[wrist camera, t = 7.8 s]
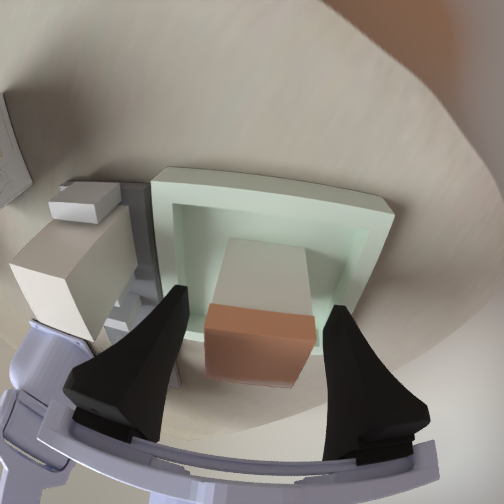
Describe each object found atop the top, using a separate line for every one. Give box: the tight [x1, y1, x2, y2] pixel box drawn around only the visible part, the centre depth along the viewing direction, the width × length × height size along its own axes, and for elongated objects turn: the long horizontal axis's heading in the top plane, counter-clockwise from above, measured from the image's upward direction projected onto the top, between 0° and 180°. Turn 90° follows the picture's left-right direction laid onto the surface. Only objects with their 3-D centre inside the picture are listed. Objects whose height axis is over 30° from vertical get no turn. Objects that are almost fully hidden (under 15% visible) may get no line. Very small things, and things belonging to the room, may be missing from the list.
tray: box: [151, 167, 395, 355], centre depth 15 cm, size 11×11×2 cm
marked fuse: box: [204, 237, 317, 388], centre depth 13 cm, size 4×4×6 cm
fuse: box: [9, 205, 138, 342], centre depth 12 cm, size 4×4×6 cm
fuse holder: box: [48, 181, 181, 390], centre depth 18 cm, size 6×23×3 cm, turn 174°
